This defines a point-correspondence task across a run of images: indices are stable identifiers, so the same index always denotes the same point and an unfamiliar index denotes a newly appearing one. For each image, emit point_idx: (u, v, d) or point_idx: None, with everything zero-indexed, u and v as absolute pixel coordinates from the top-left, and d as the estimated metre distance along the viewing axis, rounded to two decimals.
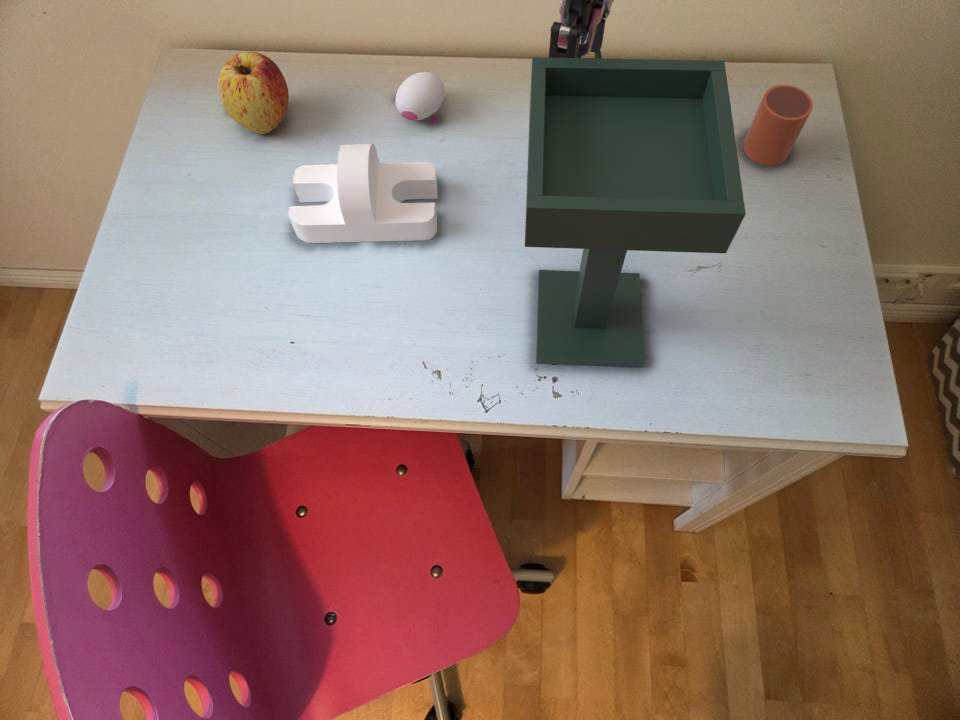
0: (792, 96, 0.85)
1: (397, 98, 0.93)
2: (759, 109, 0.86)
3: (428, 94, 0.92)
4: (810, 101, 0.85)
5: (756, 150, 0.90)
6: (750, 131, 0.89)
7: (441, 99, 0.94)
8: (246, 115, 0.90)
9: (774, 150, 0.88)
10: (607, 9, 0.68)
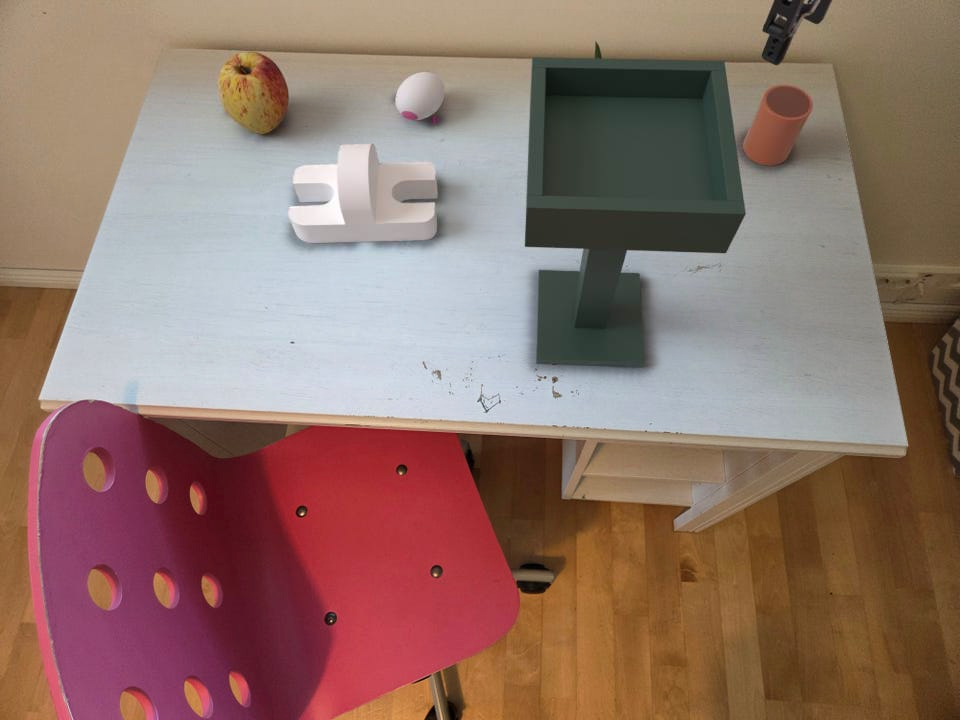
0: (792, 96, 0.85)
1: (397, 98, 0.93)
2: (759, 109, 0.86)
3: (428, 94, 0.92)
4: (810, 101, 0.85)
5: (756, 150, 0.90)
6: (750, 131, 0.89)
7: (441, 99, 0.94)
8: (246, 115, 0.90)
9: (774, 150, 0.88)
10: None
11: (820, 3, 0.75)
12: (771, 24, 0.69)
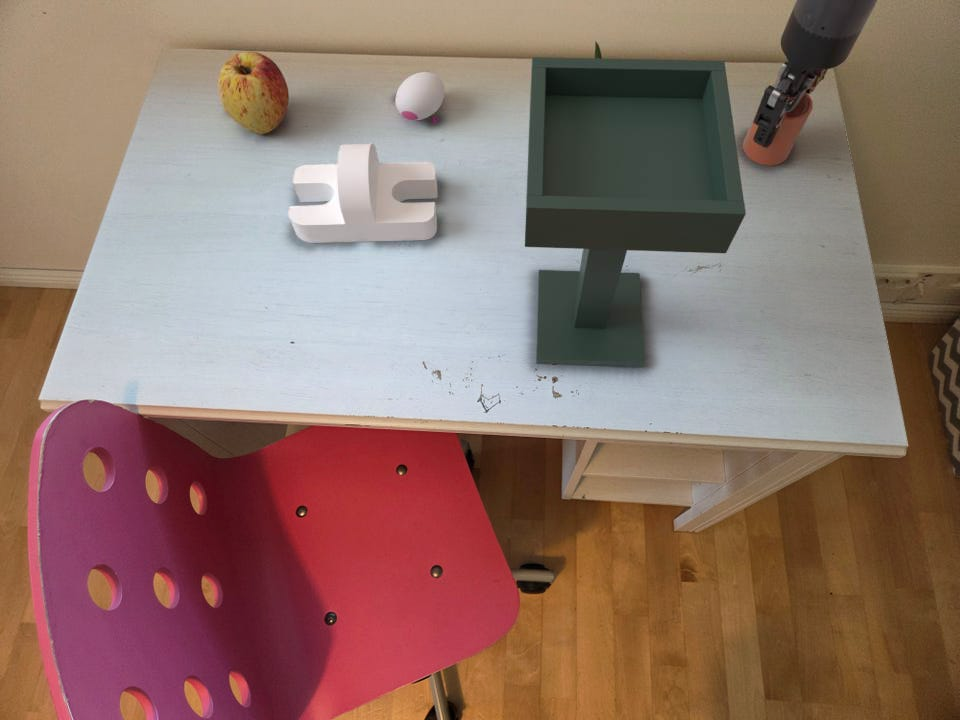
0: None
1: (397, 98, 0.93)
2: None
3: (428, 94, 0.92)
4: (810, 101, 0.85)
5: (756, 150, 0.90)
6: (750, 131, 0.89)
7: (441, 99, 0.94)
8: (246, 115, 0.90)
9: (774, 150, 0.88)
10: (815, 83, 0.83)
11: None
12: (760, 118, 0.82)
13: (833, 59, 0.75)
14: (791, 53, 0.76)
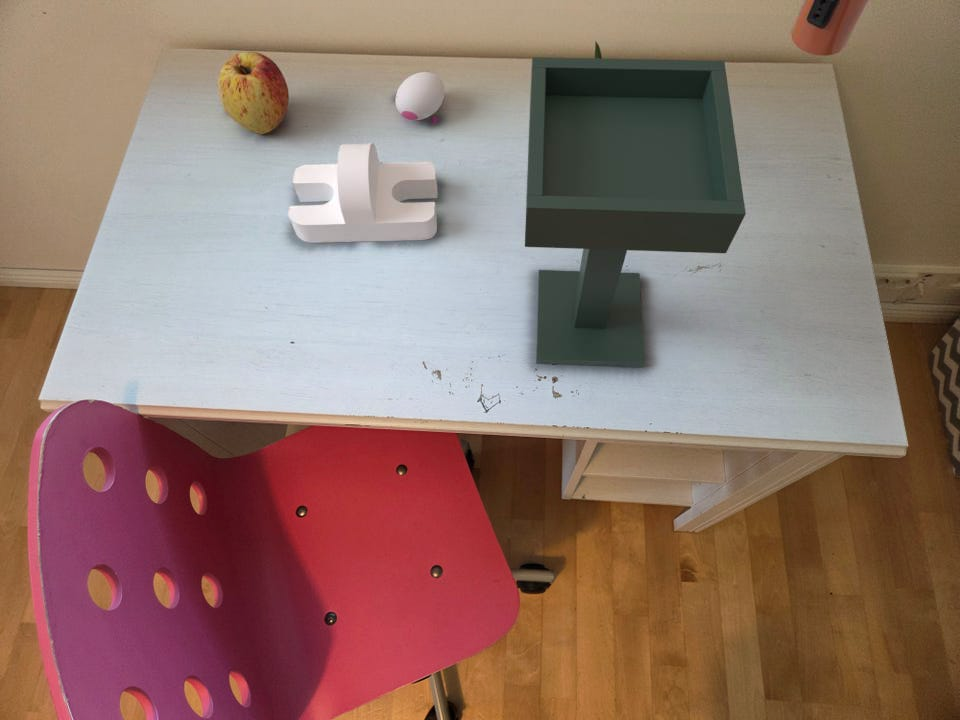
0: None
1: (397, 98, 0.93)
2: None
3: (428, 94, 0.92)
4: None
5: (809, 35, 0.74)
6: (801, 12, 0.74)
7: (441, 99, 0.94)
8: (246, 115, 0.90)
9: (831, 32, 0.73)
10: None
11: None
12: None
13: None
14: None
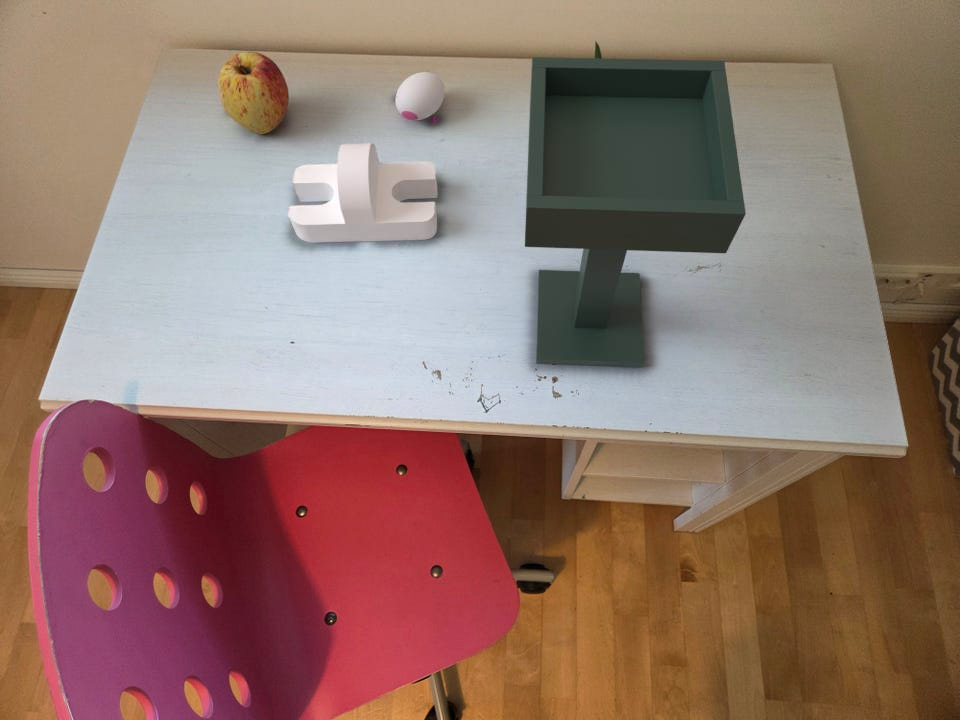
0: None
1: (397, 98, 0.93)
2: None
3: (428, 94, 0.92)
4: None
5: None
6: None
7: (441, 99, 0.94)
8: (246, 115, 0.90)
9: None
10: None
11: None
12: None
13: None
14: None
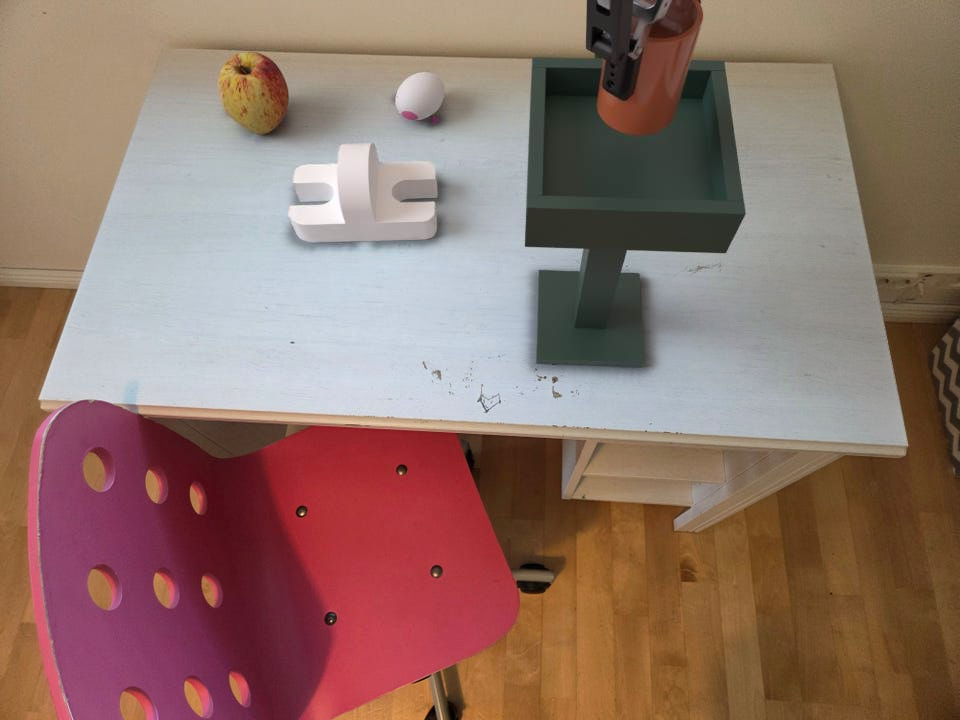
0: None
1: (397, 98, 0.93)
2: None
3: (428, 94, 0.92)
4: (699, 10, 0.45)
5: (613, 107, 0.50)
6: (601, 73, 0.50)
7: (441, 99, 0.94)
8: (246, 115, 0.90)
9: (641, 105, 0.48)
10: None
11: None
12: (597, 39, 0.43)
13: None
14: None
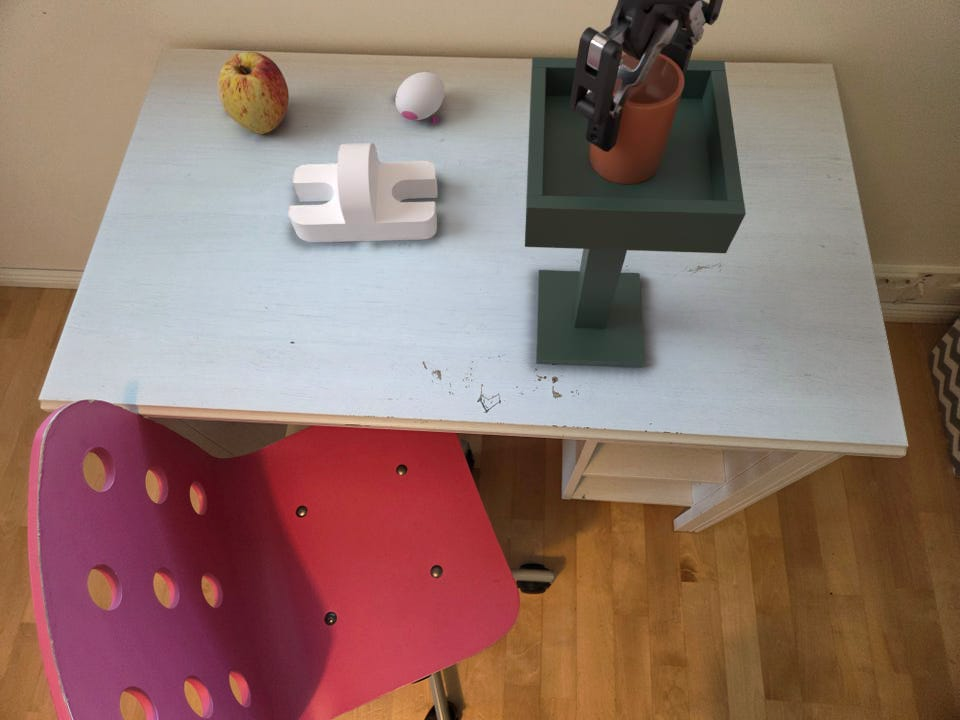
0: None
1: (397, 98, 0.93)
2: None
3: (428, 94, 0.92)
4: (680, 77, 0.50)
5: (603, 160, 0.54)
6: None
7: (441, 99, 0.94)
8: (246, 115, 0.90)
9: (628, 159, 0.53)
10: (691, 31, 0.47)
11: (674, 61, 0.52)
12: (580, 100, 0.46)
13: None
14: None
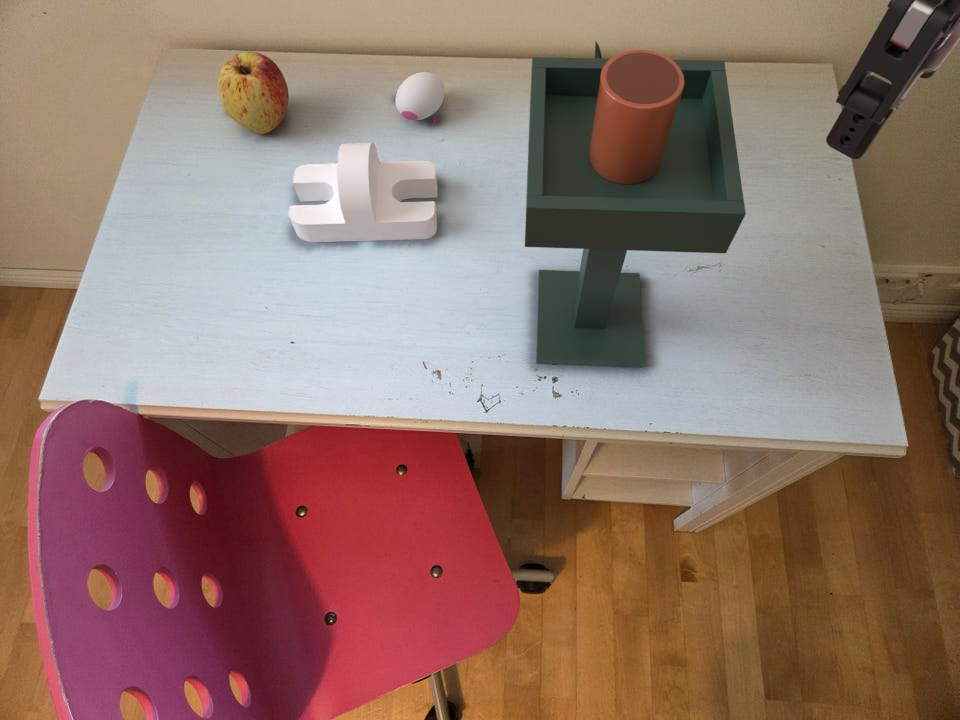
0: (651, 68, 0.50)
1: (397, 98, 0.93)
2: (598, 91, 0.51)
3: (428, 94, 0.92)
4: (680, 77, 0.50)
5: (603, 160, 0.54)
6: (592, 128, 0.54)
7: (441, 99, 0.94)
8: (246, 115, 0.90)
9: (628, 159, 0.53)
10: None
11: (936, 42, 0.40)
12: (856, 90, 0.34)
13: None
14: None
